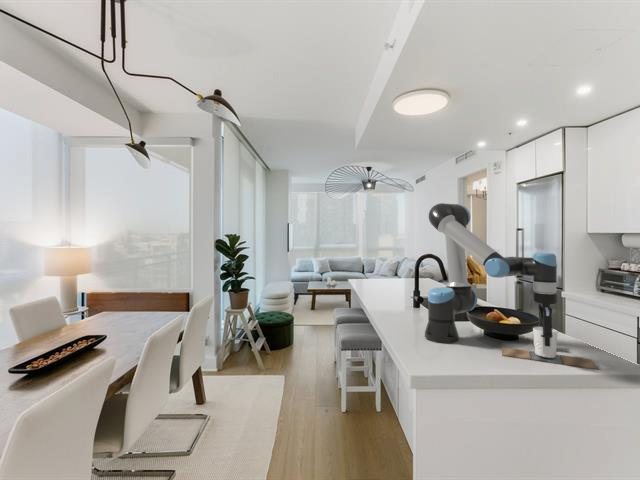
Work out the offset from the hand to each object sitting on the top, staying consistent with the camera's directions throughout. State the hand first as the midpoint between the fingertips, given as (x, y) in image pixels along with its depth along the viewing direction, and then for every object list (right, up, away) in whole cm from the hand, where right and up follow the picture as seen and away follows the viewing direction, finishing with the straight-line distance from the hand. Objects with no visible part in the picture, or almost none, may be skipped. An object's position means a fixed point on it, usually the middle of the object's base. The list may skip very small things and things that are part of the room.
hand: (545, 350), depth 124 cm
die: (+7, -3, +12) cm, 14 cm away
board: (0, -3, 0) cm, 3 cm away
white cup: (0, -2, 0) cm, 2 cm away
